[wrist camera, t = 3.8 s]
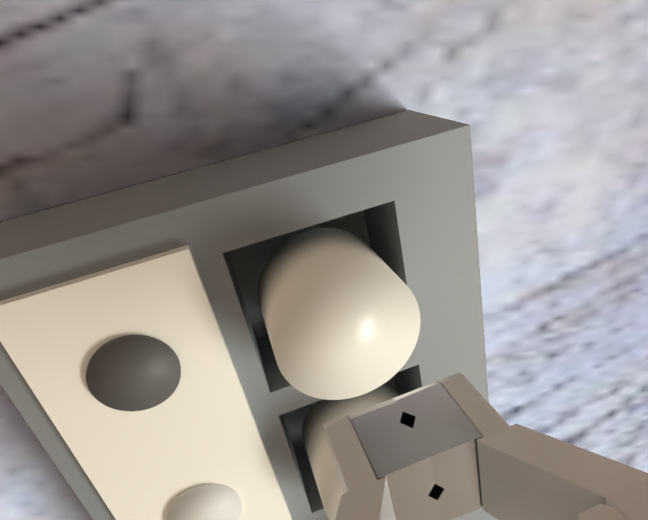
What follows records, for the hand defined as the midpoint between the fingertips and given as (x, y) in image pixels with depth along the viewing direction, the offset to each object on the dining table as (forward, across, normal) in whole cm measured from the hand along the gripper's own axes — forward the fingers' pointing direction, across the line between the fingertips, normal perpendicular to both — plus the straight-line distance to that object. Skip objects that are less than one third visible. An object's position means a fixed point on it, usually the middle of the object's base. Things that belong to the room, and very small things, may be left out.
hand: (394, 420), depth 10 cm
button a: (+6, 0, 0) cm, 6 cm away
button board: (+9, +2, +6) cm, 11 cm away
